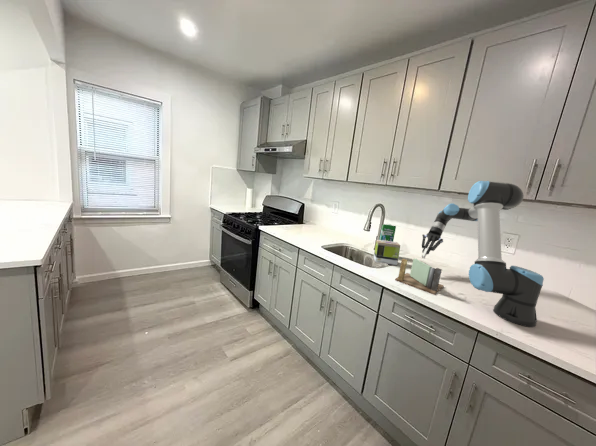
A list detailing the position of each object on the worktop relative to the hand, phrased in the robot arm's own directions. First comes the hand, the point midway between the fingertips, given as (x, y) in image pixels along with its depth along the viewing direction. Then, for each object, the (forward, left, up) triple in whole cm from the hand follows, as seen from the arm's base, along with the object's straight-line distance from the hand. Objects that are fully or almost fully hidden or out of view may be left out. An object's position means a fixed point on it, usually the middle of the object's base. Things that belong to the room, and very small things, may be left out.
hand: (423, 257), depth 158 cm
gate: (-19, +7, -10) cm, 23 cm away
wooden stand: (-19, +7, -11) cm, 23 cm away
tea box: (+15, +19, -12) cm, 27 cm away
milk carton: (+33, +16, -11) cm, 39 cm away
